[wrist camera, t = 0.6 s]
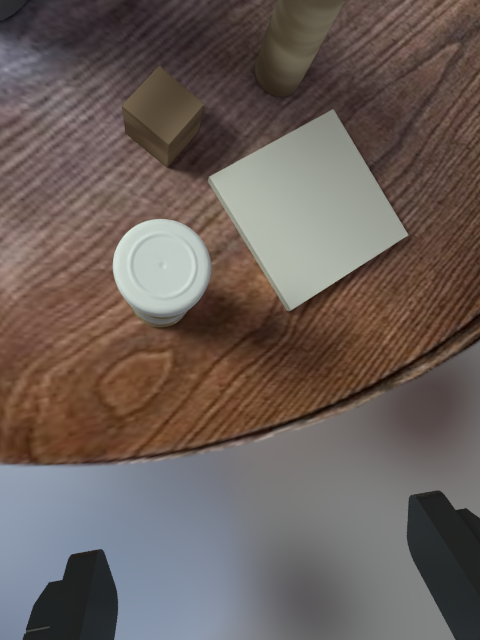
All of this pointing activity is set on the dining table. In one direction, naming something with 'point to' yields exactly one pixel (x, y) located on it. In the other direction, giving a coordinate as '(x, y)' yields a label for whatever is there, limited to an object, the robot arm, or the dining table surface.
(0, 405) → the dining table surface
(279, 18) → the beech dowel
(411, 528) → the robot arm
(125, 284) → the sprinkles bottle
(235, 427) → the dining table surface
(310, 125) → the ceramic tile
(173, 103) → the walnut block
